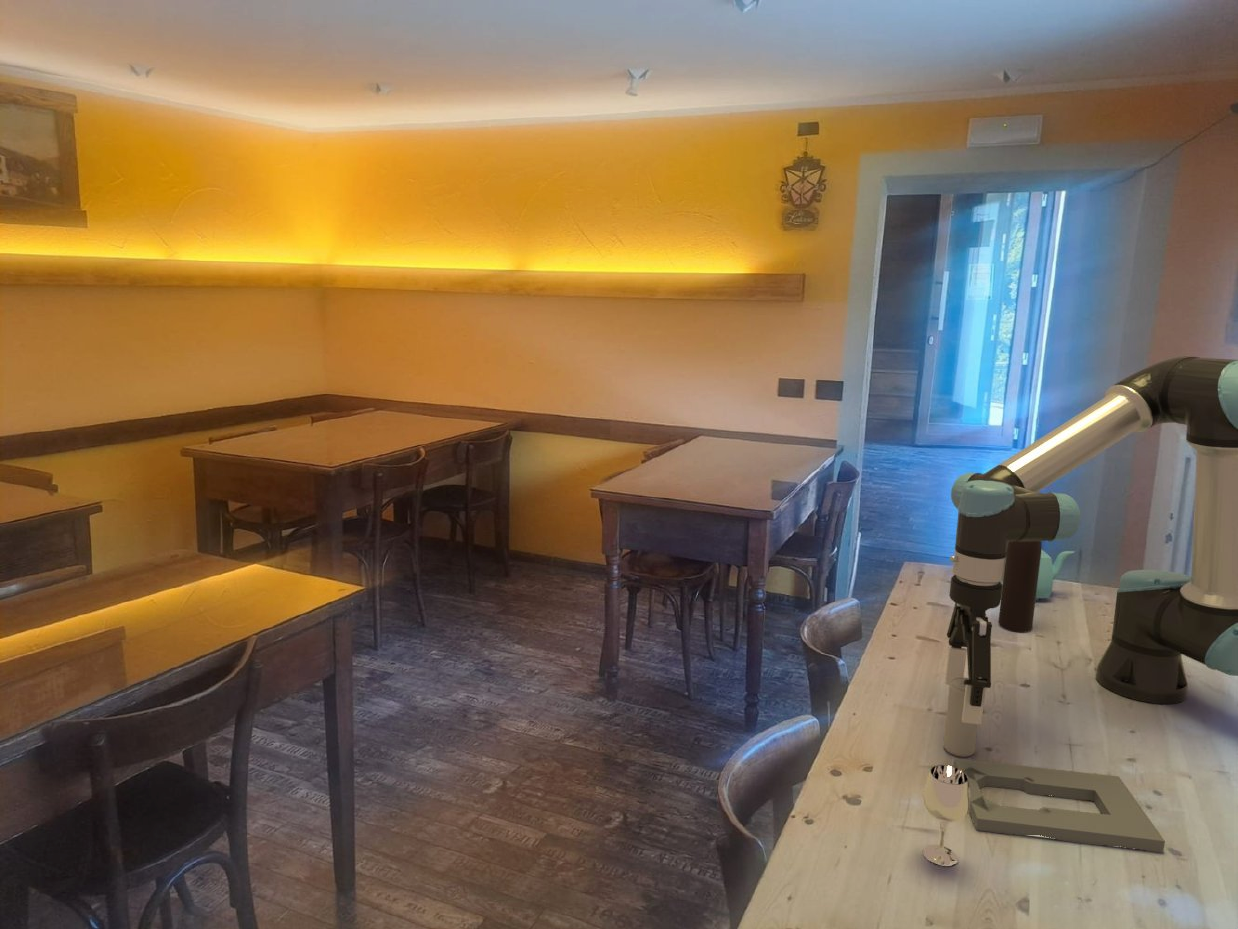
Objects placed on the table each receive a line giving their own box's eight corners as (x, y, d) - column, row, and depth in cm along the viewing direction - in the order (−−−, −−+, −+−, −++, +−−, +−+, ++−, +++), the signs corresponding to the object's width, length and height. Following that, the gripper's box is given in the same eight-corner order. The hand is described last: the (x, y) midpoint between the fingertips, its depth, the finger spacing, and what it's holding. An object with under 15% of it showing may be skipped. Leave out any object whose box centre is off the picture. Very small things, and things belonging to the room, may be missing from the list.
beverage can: (977, 760, 136) (984, 691, 134) (945, 756, 137) (952, 688, 135) (971, 745, 141) (978, 678, 139) (940, 741, 142) (947, 675, 140)
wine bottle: (1033, 625, 194) (1049, 499, 188) (1029, 635, 188) (1045, 505, 182) (1000, 619, 198) (1014, 494, 192) (995, 628, 192) (1010, 500, 186)
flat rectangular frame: (1117, 787, 129) (1118, 776, 129) (1163, 853, 114) (1164, 841, 114) (953, 768, 134) (954, 758, 133) (976, 830, 118) (977, 818, 118)
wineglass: (910, 843, 115) (918, 763, 113) (951, 841, 116) (959, 762, 113) (929, 871, 110) (937, 788, 107) (971, 869, 110) (981, 786, 108)
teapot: (1023, 610, 204) (1030, 557, 201) (966, 589, 218) (972, 539, 215) (1069, 598, 213) (1076, 547, 210) (1012, 579, 227) (1017, 530, 224)
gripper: (937, 553, 146) (925, 668, 150) (969, 603, 122) (953, 737, 126) (983, 557, 145) (969, 672, 149) (1024, 608, 121) (1006, 743, 125)
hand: (962, 702), depth 137 cm, fingers open, 13 cm apart
